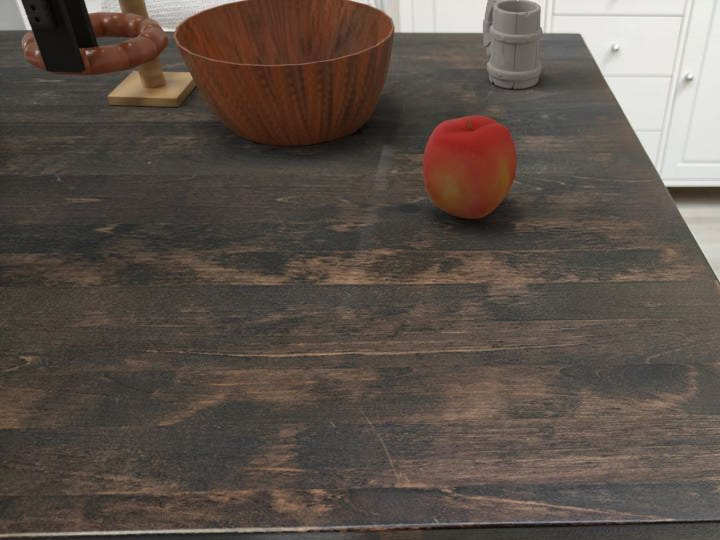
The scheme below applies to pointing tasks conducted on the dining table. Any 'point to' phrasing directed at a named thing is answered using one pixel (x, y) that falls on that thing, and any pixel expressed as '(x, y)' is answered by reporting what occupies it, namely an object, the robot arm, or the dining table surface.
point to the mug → (513, 42)
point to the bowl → (289, 66)
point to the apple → (469, 166)
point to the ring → (111, 57)
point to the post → (150, 77)
